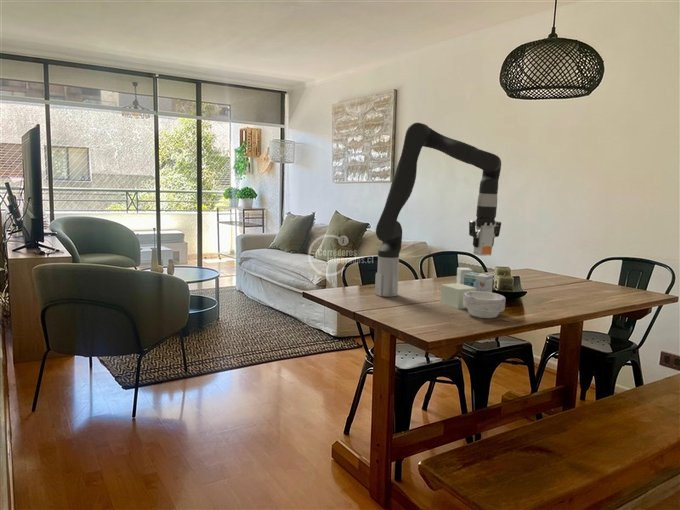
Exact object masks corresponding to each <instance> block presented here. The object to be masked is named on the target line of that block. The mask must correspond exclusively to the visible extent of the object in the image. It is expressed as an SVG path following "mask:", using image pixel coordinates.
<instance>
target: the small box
mask: <svg viewBox="0 0 680 510" xmlns="http://www.w3.org/2000/svg"><path fill="white" fill-rule="evenodd" d="M470 272H474V270H473V269H471V268H470V267H457V268H456V283H460V284H463V285H464V274H466V273H470Z"/></svg>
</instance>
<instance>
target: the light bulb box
mask: <svg viewBox="0 0 680 510" xmlns="http://www.w3.org/2000/svg"><path fill="white" fill-rule="evenodd" d="M493 283H494V275H493V274H487V273H480V272H474V271H473V272H470V273H466V274H464V285H467V286H471V287H474V288H476V291H482V292H491V293H493Z"/></svg>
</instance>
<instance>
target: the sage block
mask: <svg viewBox="0 0 680 510" xmlns="http://www.w3.org/2000/svg"><path fill="white" fill-rule="evenodd" d="M440 285H441V286H440V304H441V305H445V306H447V307H451V308H454V309H456V310H461V309H466V308H465V307H464V306H463V299H464V293H466V292H470V291H476V288H474V287H471V286H467V285H463V284H460V283H457V282H455V283H443V284H440Z"/></svg>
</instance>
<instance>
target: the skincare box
mask: <svg viewBox="0 0 680 510" xmlns="http://www.w3.org/2000/svg"><path fill="white" fill-rule="evenodd" d="M481 228H482V232H481V233H480V236H479V244H478V247H474V246H473V252H472V254H473V255H476V256H481V257H482V256H492V252H493V251H492V250H493V247H492V244H493V235H494V226H482V225H481V227H480V228H479V227H477V225H476V226H475V229H477V230H480V229H481ZM477 233H478V232H477Z"/></svg>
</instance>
